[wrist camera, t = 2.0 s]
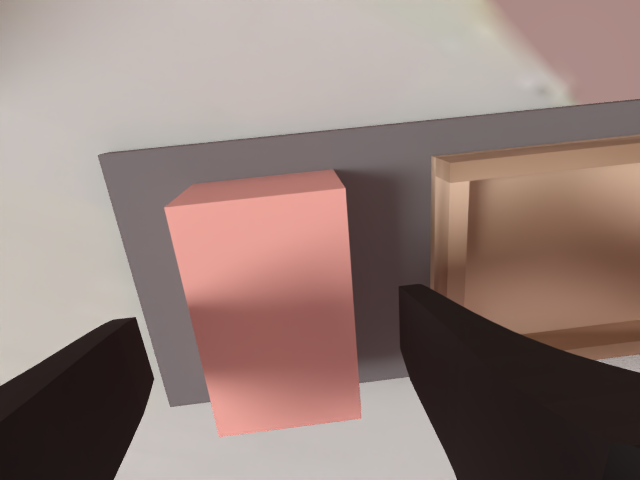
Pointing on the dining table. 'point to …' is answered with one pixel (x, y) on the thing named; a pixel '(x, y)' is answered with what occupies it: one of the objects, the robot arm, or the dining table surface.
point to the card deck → (270, 298)
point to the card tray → (544, 241)
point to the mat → (362, 211)
